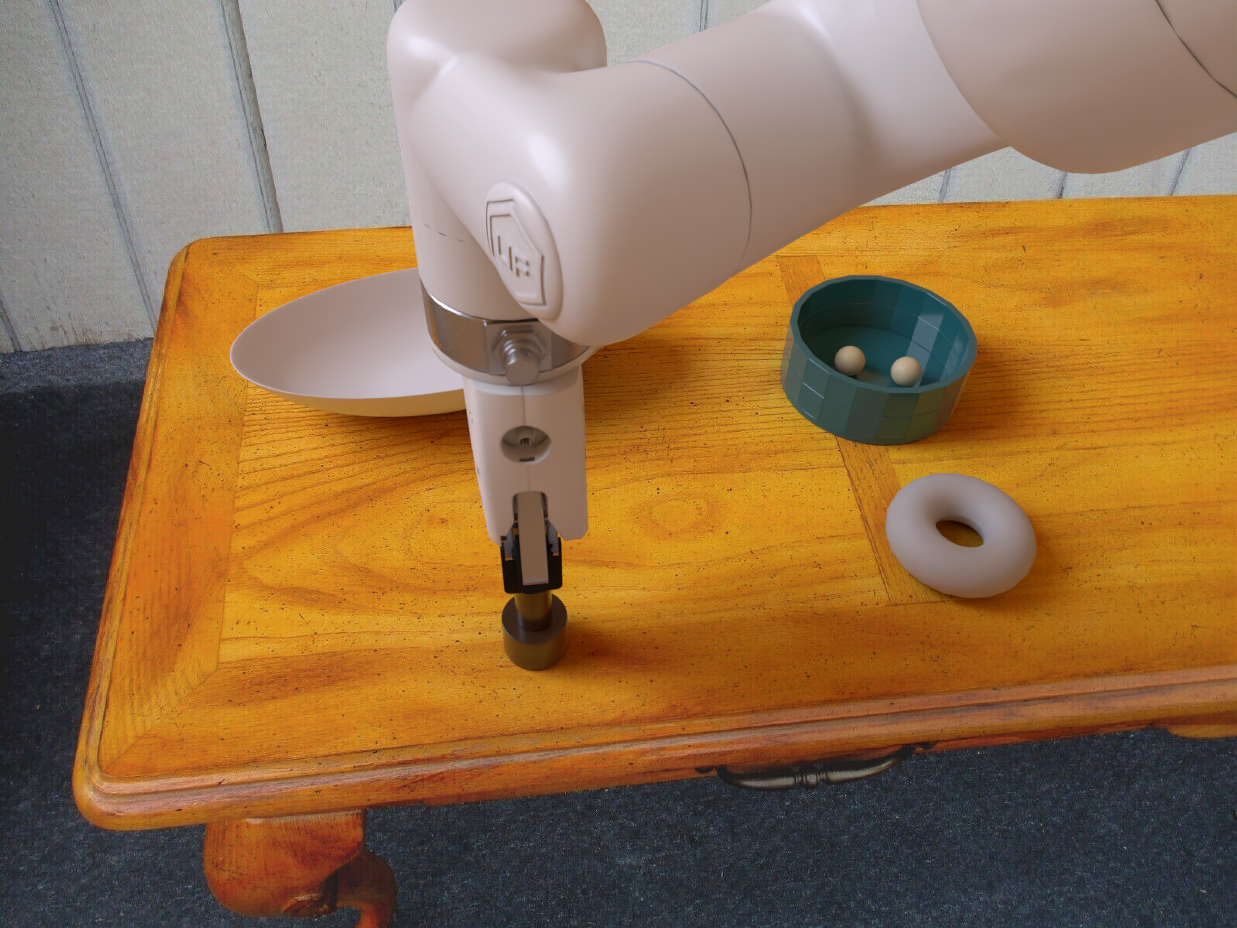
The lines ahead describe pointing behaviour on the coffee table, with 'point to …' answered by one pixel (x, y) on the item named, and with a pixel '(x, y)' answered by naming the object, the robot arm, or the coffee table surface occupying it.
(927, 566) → the donut
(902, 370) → the chickpea
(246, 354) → the bowl
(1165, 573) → the coffee table surface
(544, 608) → the muddler
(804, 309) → the mixing bowl
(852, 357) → the chickpea
